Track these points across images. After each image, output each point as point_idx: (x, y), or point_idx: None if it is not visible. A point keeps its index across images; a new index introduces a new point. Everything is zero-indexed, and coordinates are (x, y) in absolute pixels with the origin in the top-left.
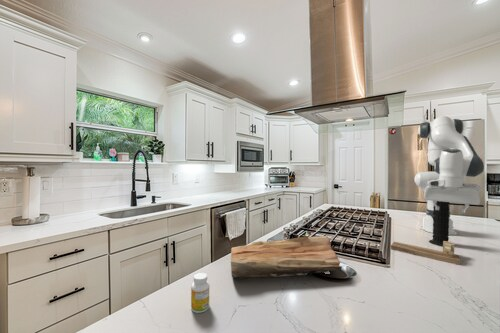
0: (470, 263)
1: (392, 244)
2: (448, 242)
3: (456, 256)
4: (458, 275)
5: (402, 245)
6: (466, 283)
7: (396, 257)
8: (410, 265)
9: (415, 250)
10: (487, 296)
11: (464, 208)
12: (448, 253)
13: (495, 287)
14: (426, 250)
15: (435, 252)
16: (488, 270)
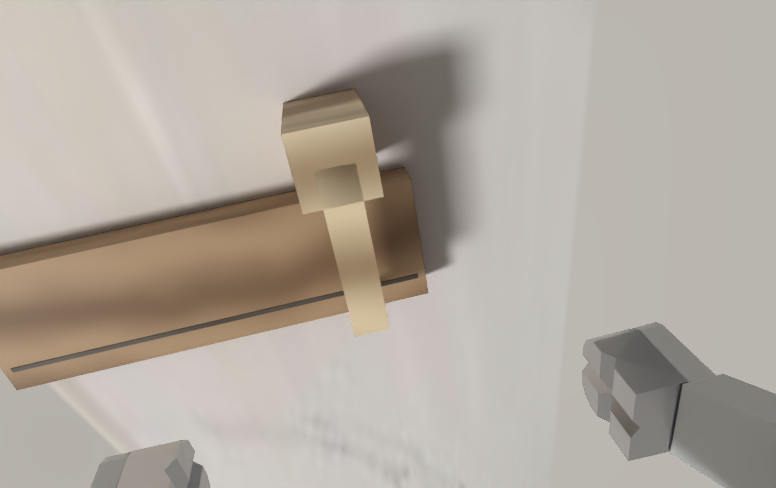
0: (465, 187)
1: (5, 365)
2: (330, 156)
3: (401, 229)
4: (441, 407)
5: (58, 323)
6: (474, 450)
7: None
8: (261, 476)
9: (182, 345)
10: (532, 482)
11: (704, 449)
12: None
13: (557, 400)
14: (224, 281)
15: (282, 270)
16: (546, 224)
